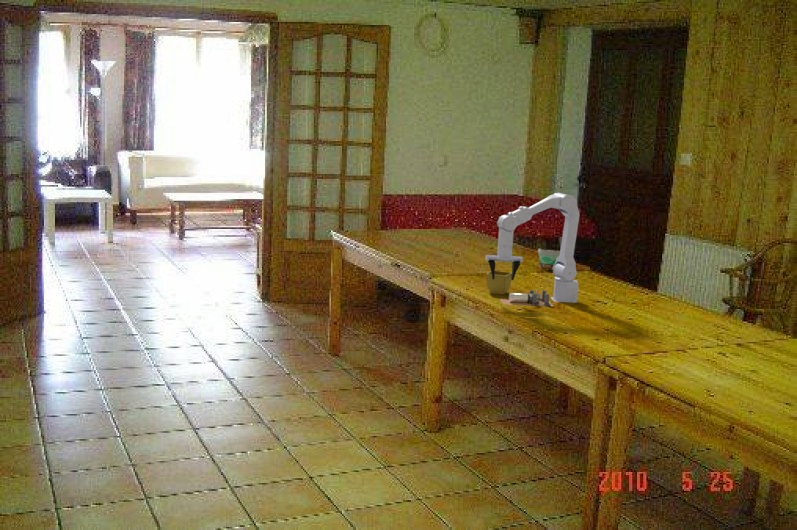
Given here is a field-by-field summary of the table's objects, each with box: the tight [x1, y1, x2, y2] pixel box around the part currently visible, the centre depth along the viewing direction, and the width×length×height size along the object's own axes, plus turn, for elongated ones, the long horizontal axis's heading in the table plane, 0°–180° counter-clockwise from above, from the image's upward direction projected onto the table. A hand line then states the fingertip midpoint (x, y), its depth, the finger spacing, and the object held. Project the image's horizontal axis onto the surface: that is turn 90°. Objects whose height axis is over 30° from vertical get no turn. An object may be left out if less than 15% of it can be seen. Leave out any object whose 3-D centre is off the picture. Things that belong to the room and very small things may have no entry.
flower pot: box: [485, 270, 512, 296], centre depth 345 cm, size 9×9×9 cm
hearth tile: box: [499, 298, 554, 307], centre depth 330 cm, size 20×10×1 cm, turn 91°
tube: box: [508, 292, 541, 303], centre depth 329 cm, size 12×4×4 cm, turn 91°
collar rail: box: [528, 289, 552, 307], centre depth 330 cm, size 7×10×4 cm
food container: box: [537, 248, 560, 270], centre depth 402 cm, size 12×6×10 cm, turn 73°
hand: (502, 279), depth 328 cm, fingers open, 7 cm apart
